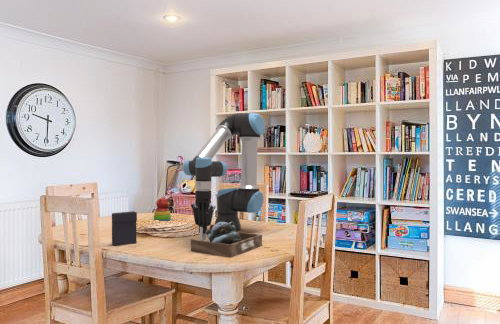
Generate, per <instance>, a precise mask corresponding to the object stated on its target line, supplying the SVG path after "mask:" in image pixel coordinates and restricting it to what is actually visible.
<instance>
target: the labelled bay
mask: <svg viewBox="0 0 500 324" xmlns="http://www.w3.org/2000/svg"><path fill="white" fill-rule="evenodd" d="M237 233H239V234H240V236H241V239H242V241H239V242H236V243H233V244H223V243H216V242H210V241H209V240H204V241H201V240H200V239H193V238H192V239H190V252H195V253H201V254H206V255H213V256H214V255H215V256H220V257H221V256H222V257H227V258H233V257H235V255H236V256H238V255H241V254H243V253H246V252H249V251H251V250H254V249H257V248H259V247H261V246H262V245H263V235H262V234H257V233H249V232H240V231H237ZM262 247H263V246H262Z"/></svg>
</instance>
